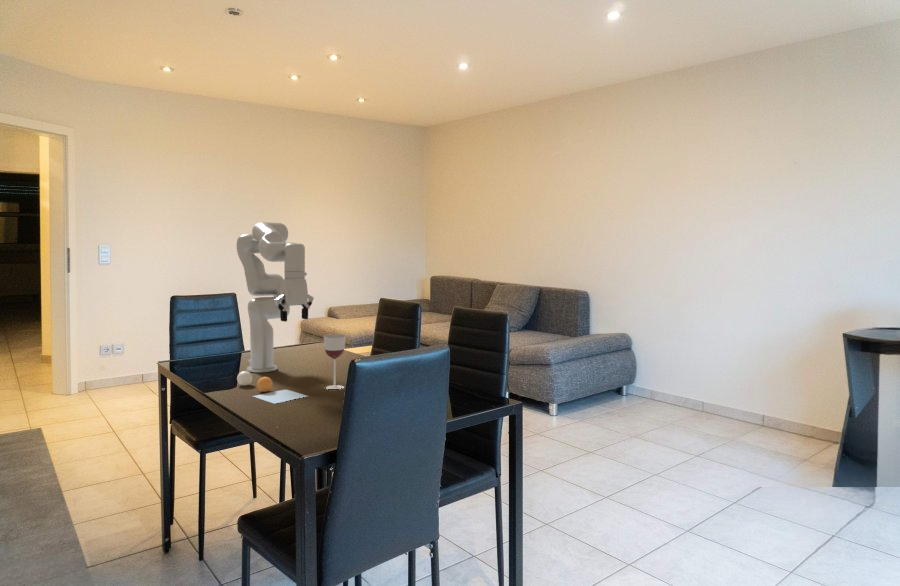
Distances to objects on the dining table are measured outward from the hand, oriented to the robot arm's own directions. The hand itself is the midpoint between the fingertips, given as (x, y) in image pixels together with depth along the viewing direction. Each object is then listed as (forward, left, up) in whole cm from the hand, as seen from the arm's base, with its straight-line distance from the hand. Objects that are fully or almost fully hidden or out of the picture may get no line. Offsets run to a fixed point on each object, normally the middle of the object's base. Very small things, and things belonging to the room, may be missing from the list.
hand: (294, 320), depth 223 cm
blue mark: (+11, -13, -26) cm, 31 cm away
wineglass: (+14, +9, -26) cm, 30 cm away
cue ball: (-13, -13, -23) cm, 30 cm away
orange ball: (+1, -13, -23) cm, 26 cm away
